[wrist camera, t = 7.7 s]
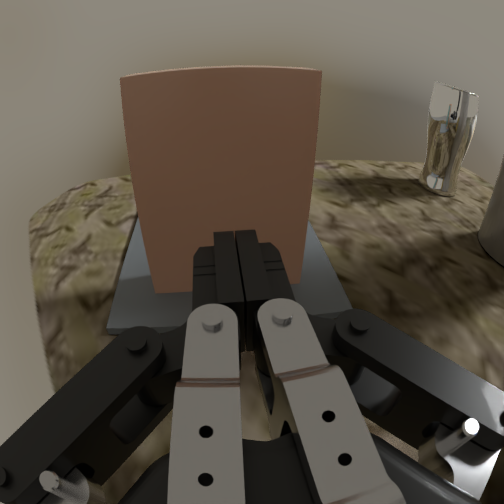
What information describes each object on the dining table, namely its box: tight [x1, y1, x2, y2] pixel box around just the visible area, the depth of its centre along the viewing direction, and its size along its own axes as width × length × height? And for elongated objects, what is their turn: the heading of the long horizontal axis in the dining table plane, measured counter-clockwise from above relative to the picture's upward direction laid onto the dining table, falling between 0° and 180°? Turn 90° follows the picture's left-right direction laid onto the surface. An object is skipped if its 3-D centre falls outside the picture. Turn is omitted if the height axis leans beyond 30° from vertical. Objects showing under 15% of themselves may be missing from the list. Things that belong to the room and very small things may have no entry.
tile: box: [120, 66, 322, 294], centre depth 18 cm, size 10×2×14 cm, turn 97°
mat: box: [106, 217, 353, 334], centre depth 27 cm, size 16×20×1 cm
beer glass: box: [418, 81, 479, 197], centre depth 35 cm, size 7×7×15 cm
